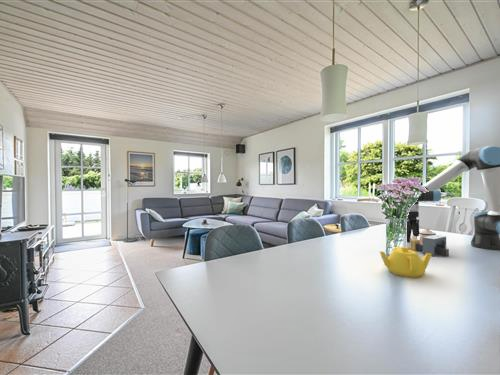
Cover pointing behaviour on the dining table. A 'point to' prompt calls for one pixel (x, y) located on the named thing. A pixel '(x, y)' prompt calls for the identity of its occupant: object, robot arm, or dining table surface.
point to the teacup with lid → (425, 234)
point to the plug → (419, 247)
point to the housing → (433, 243)
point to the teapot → (406, 262)
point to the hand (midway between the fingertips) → (411, 246)
